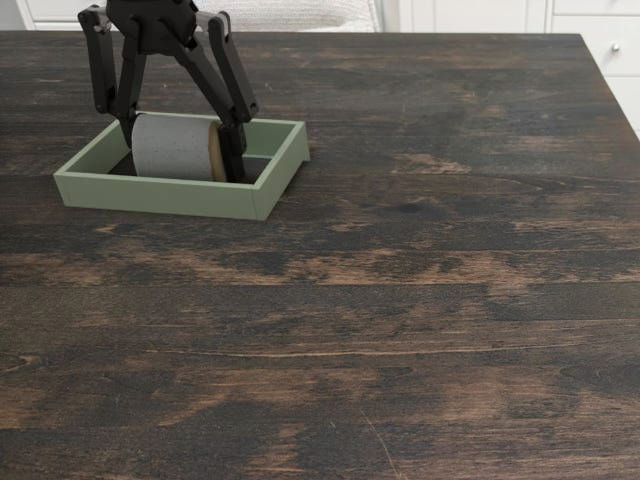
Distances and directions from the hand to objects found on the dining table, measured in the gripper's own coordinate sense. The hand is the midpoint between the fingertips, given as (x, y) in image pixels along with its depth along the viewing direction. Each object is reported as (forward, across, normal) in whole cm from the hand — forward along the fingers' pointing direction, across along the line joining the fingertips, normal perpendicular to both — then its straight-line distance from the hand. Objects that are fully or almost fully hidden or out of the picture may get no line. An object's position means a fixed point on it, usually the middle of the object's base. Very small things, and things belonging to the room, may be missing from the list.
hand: (195, 179), depth 80 cm
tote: (+1, 0, 0) cm, 1 cm away
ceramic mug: (0, 0, 0) cm, 1 cm away
